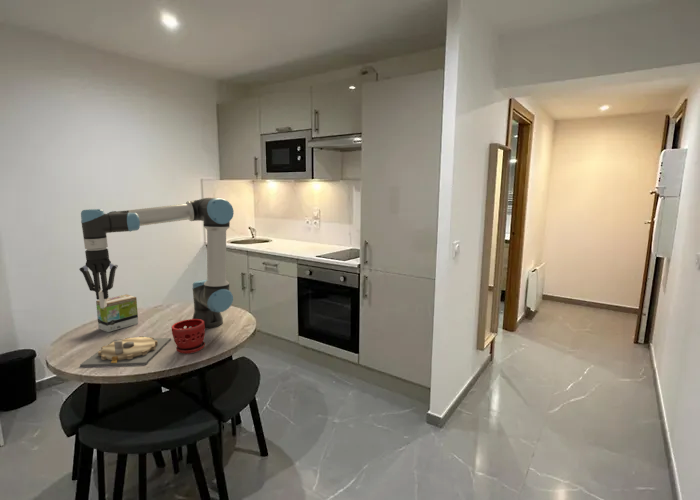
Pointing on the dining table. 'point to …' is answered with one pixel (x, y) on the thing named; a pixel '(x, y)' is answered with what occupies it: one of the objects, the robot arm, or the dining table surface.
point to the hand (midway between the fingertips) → (103, 306)
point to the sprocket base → (138, 360)
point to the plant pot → (189, 335)
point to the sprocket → (127, 348)
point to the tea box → (117, 313)
